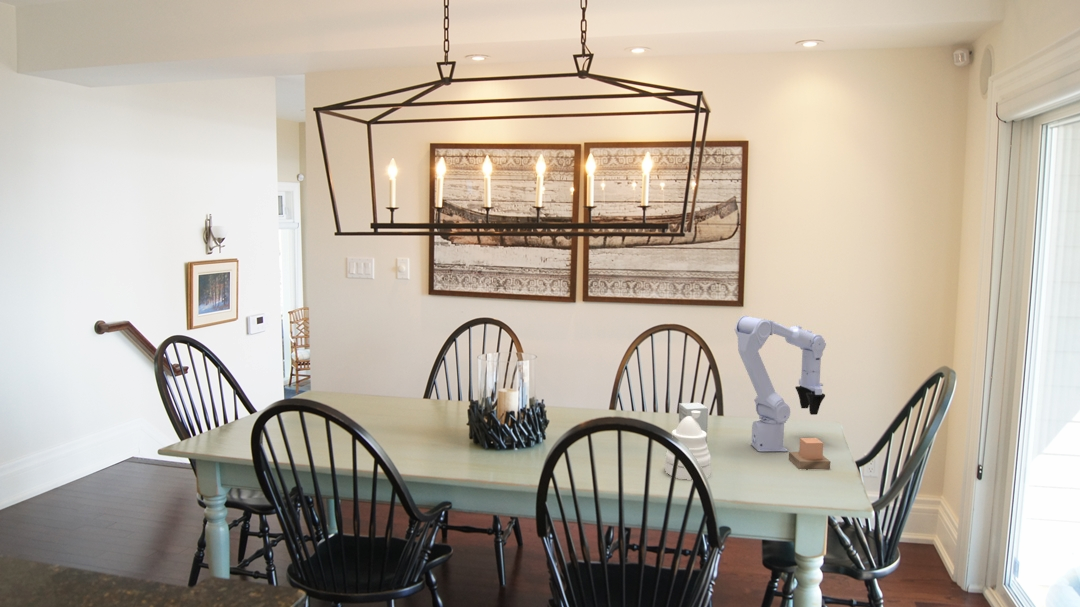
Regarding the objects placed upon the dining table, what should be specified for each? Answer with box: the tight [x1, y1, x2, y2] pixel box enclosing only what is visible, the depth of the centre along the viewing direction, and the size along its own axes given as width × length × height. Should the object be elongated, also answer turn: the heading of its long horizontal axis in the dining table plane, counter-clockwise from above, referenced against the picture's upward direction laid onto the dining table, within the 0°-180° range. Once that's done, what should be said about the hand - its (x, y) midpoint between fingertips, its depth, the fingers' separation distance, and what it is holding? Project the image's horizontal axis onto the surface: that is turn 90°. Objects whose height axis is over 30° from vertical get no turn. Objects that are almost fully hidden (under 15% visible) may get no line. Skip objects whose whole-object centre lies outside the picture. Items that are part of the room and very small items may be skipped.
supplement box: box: [678, 402, 709, 444], centre depth 248 cm, size 7×7×13 cm
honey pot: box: [664, 411, 712, 481], centre depth 220 cm, size 13×13×18 cm
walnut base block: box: [788, 451, 831, 471], centre depth 228 cm, size 9×9×3 cm
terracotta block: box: [798, 437, 824, 460], centre depth 227 cm, size 5×5×5 cm
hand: (809, 411), depth 249 cm, fingers open, 7 cm apart
